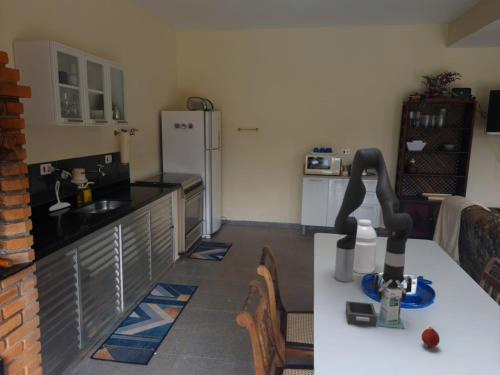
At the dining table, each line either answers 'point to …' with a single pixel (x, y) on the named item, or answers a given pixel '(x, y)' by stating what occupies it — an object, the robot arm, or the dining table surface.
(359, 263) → the bottle
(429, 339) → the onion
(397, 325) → the teal mat
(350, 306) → the gray frame
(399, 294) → the syrup box
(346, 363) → the dining table surface
